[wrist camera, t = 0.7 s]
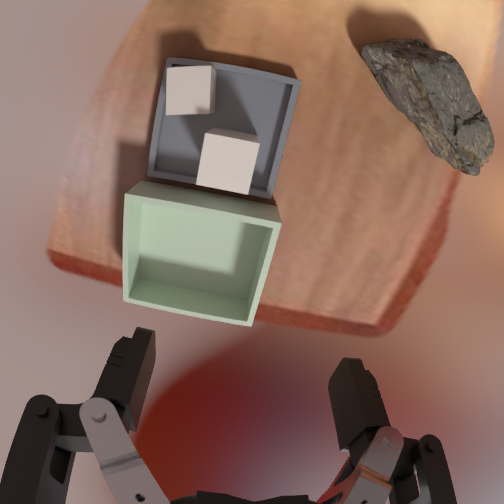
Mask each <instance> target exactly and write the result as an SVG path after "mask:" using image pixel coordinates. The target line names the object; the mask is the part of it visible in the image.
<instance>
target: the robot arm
mask: <svg viewBox="0 0 504 504" xmlns="http://www.w3.org/2000/svg"><path fill="white" fill-rule="evenodd" d="M155 349H156V348H155V331H154V330H149V329H145V328H141V327H137V328H136V330H135V332H134V335H133V337H132V338H128V337H124V336H123V337H122V338H121V339H120V340H119V341H117V342H116V343H115V344H114V347H113V349H112V351H111V353H110V356H109V358H108V360H107V364H106V365H105V367H104V370H103V372H102V374H101V377H100V379H99V382H98V384H97V387H96V390H95V392H94V394H93V396H92V397H91V398H90V399H89V400H87V401H85V402H84V403H81V404H57V403H56V402H55V400H54V399H52V398H51V397H49V396H47V395H36V396H34V397H32V398H31V399H30V400H29V401H28V403H27V405H26V407H25V410H24V412H23V415H22V417H21V420H20V423H19V425H18V428H17V431H16V434H15V436H14V439H13V442H12V445H11V448H10V451H9V454H8V458H7V461H6V464H5V468H4V471H3V475H2V479H1V483H0V504H65V502H66V496H67V491H68V486H69V481H70V476H71V471H72V467H73V462H74V458H75V454H76V452H94V454H95V456H96V458H97V460H98V462H99V465H100V468H101V471H102V474H103V476H104V478H105V480H106V482H107V484H108V485H109V488H110V490H111V492H112V493H113V495H114V497H115V499H116V501H117V502H118V504H385V502H386V500H387V498H388V496H389V501H390V504H457V501H456V497H455V492H454V488H453V484H452V480H451V476H450V472H449V468H448V465H447V461H446V457H445V454H444V450H443V447H442V444H441V442H440V440H439V439H438V438H437V437H435V436H434V435H430V434H427V435H425V436H423V437H422V438H420V439H419V440H416V439H410V438H405V437H403V436H402V434H401V433H400V431H399V430H397V429H396V428H394V427H391V425H390V423H389V419H388V416H387V413H386V410H385V407H384V404H383V401H382V398H381V394H380V391H379V390H378V385H377V382H376V380H375V378H374V377H373V375H372V374H371V373H370V371H369V370H365V369H364V366H363V363H362V361H361V359H359V358H343V359H342V360H341V362H340V363H339V365H338V367H337V368H336V370H335V371H334V373H333V375H332V376H331V378H330V380H329V385H328V391H329V396H330V401H331V406H332V411H333V416H334V421H335V426H336V431H337V437H338V442H339V448H340V451H349V452H350V456H349V457H348V458H347V460H346V461H345V463H344V465H343V466H342V468H341V470H340V471H339V473H338V475H337V476H336V478H335V479H334V481H333V482H332V484H331V485H330V487H329V488H328V489H327V491H326V492H325V493H324V494H322V495H321V497H320V498H319V499H318V500H317V502H314V501H311V500H309V498H308V495H298V496H297V495H296V496H280V497H276V498H271V499H267V500H262V501H257V502H253V501H249V500H245V499H241V498H238V497H234V496H231V495H228V494H222V493H212V492H203V491H197V494H196V495H189V496H185V497H180V498H177V499H175V500H172V501H170V502H169V501H168V499H167V498H166V496H165V495H164V493H163V492H162V490H161V489H160V487H159V486H158V484H157V482H156V481H155V479H154V478H153V476H152V474H151V473H150V471H149V469H148V468H147V466H146V464H145V463H144V461H143V460H142V458H141V456H140V455H139V454H138V452H137V451H136V449H135V447H134V445H133V443H132V441H131V440H130V438H129V436H128V434H129V430H131V431H135V432H136V431H137V427H138V423H139V419H140V416H141V412H142V408H143V404H144V401H145V397H146V393H147V389H148V386H149V382H150V379H151V375H152V372H153V368H154V364H155V356H156V351H155ZM416 473H417V477H418V481H419V486H420V495H419V491H418V486H417V481H416V476H415V474H416Z"/></svg>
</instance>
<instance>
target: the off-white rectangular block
mask: <svg viewBox="0 0 504 504" xmlns="http://www.w3.org/2000/svg"><path fill="white" fill-rule="evenodd" d="M259 146H260V142H259V138H258V136H257V135H253V134H248V133H243V132H238V131H233V130H228V129H222V128H217V127H214V128H212V129H211V130H209V131H208V132H206V133H205V137H204V142H203V147H202V153H201V158H200V164H199V169H198V175H197V181H196V185H201V186H206V187H211V188H216V189H222V190H227V191H232V192H237V193H242V194H247V195H248V192H249V188H250V184H251V180H252V175H253V171H254V167H255V162H256V158H257V154H258V150H259Z"/></svg>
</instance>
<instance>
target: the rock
mask: <svg viewBox="0 0 504 504" xmlns="http://www.w3.org/2000/svg"><path fill="white" fill-rule="evenodd" d="M361 55H362V57H363V58H364V60H365V62H366V64H367V65H368V66H369V68H370V69H371V70H372V72H373V73H374V75H375V76H376V79H377V81H378V83H379V84H380V86H381V87H382V89H383V91H384V92H385V94H386V96H387V97H388V99H389V101H390V102H391V103H392V104H394V105H395V106H396V108H397V109H398V110H399V111H400V112H402V113H405V115H406V116H407V118H408V119H409V120H410V121H413V122H415V123H416V124H417V125H418V127H419V129H420V131H421V133H422V135H423V137H424V139H425V141H426V143H427V144H428V147H429V148H430V149H431V152H432V153H433V154H434V155H435V156H437V157H439V158H442V159H445V160H446V161H447V162H448V163H449V164H450V165H451V166H452V167H453V168H455V169H459V170H460V171H462V172H463V173H466V174H469V175H474V176H477V175H479V173H480V168H481V167H483V164H484V163H487V162H488V159H489V157H490V156H491V155H492V153H493V147H494V136H493V133H492V131H491V127H490V123H489V121H488V118H487V117H485V115H484V113H483V111H482V109H481V106H480V104H479V102H478V100H477V98H476V96H475V95H474V94H473V92H472V89H471V87H470V83H469V80H468V79H467V77H466V75H465V73H464V70H463V69H462V67H461V66H460V64H459V63H458V62H457V60H456V59H455V58H454V57H453V56H452V55H450V54H447V53H446V52H443V51H438V50H435V49H430V48H429V46H428V44H427V43H426V42H425V41H424V40H421V39H415V40H412V39H404V40H397V39H393V40H390V41H386V42H383V43H377V44H372V43H371V44H364V45H363V46H362V51H361Z"/></svg>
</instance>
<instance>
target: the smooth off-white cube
mask: <svg viewBox="0 0 504 504" xmlns="http://www.w3.org/2000/svg"><path fill="white" fill-rule="evenodd" d="M216 76H217V71H216V70H215V69H214V68H213V67H212V66H187V67H171V68H167V81H166V115H184V114H212V113H215V102H216Z"/></svg>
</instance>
